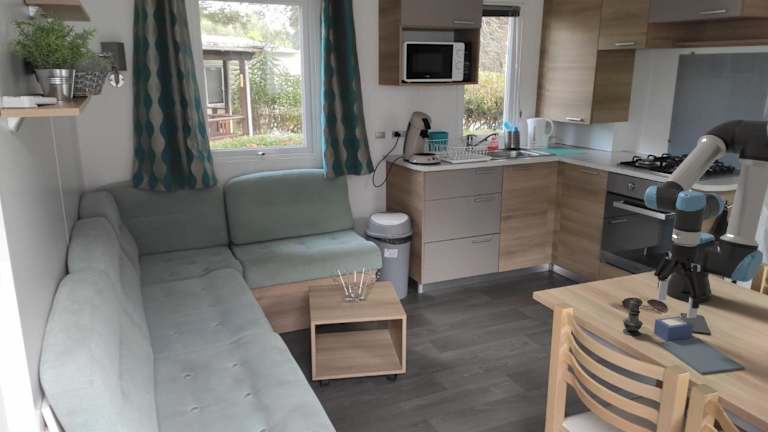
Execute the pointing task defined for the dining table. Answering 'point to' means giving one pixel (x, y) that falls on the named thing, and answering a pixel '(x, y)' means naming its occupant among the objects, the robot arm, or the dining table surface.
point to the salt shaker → (633, 319)
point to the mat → (700, 356)
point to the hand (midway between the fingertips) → (675, 308)
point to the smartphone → (697, 324)
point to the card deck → (673, 329)
